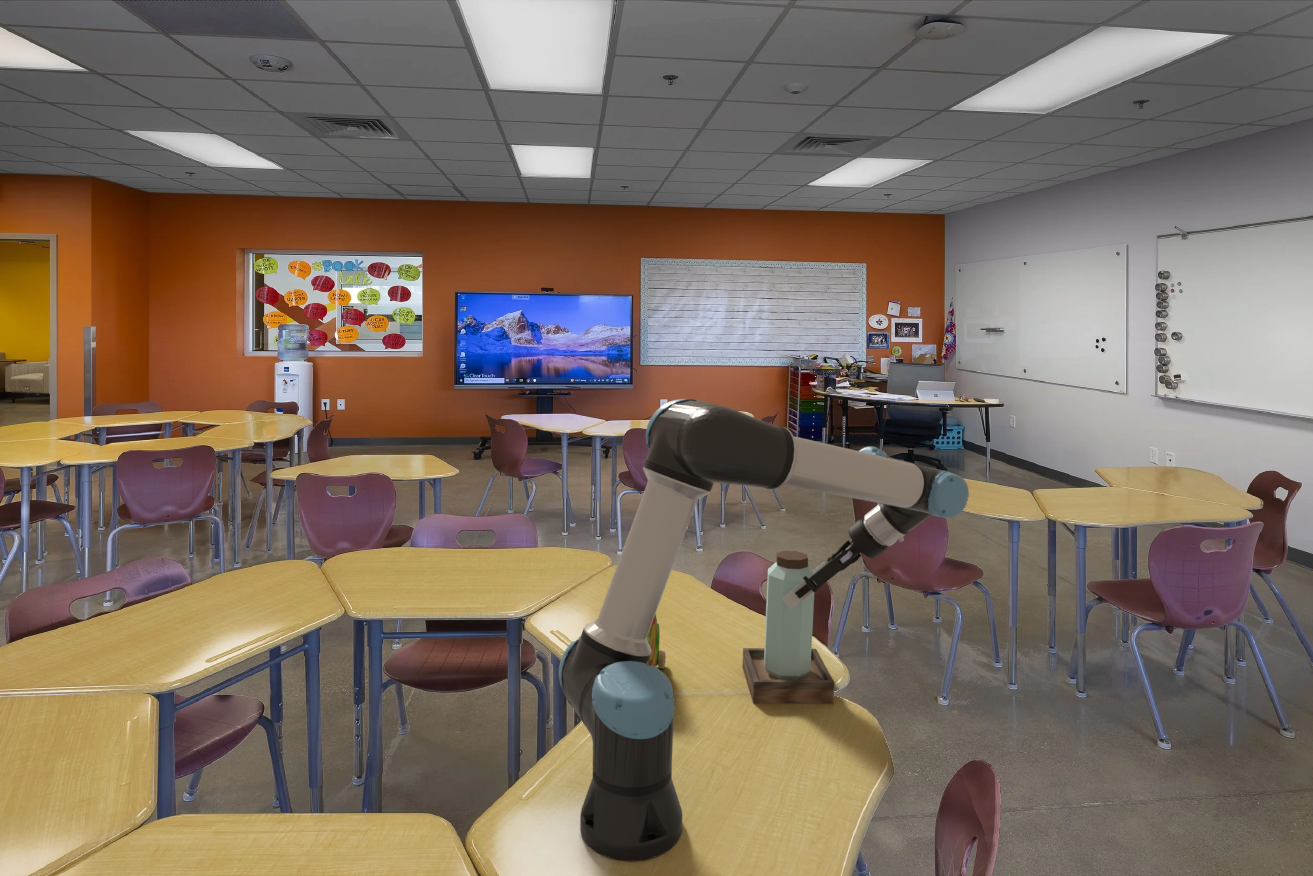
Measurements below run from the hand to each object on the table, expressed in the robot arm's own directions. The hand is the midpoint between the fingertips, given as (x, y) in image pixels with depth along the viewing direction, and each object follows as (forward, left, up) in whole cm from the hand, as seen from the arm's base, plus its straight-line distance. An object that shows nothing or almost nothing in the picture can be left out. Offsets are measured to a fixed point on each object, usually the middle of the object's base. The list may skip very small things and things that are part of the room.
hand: (796, 593), depth 158 cm
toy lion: (-29, -8, -20) cm, 36 cm away
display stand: (-1, 0, -20) cm, 20 cm away
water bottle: (-1, 0, -17) cm, 17 cm away
